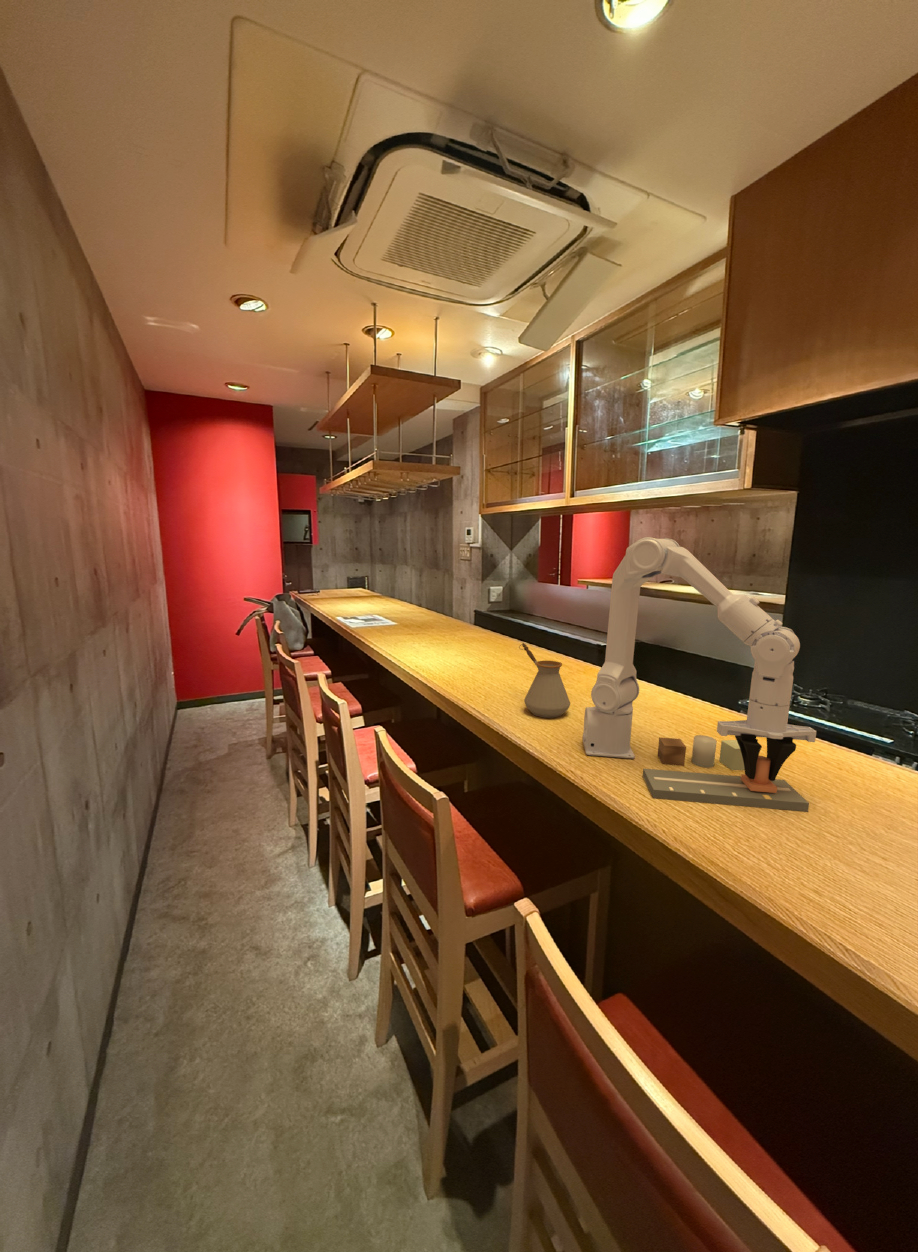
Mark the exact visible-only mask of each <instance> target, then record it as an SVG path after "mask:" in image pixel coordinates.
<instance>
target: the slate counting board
mask: <svg viewBox="0 0 918 1252" xmlns="http://www.w3.org/2000/svg"><path fill="white" fill-rule="evenodd" d="M642 778H643V780H644V782H645V784H646V786H647V788H648V791H649V792H650V795H651V797H652V798H653V799H661V800H671V801H672V800H673V801H685V802H697V803H704V804H707V803H708V804H718V805H727V806H728V805H729V806H738V807H751V808H752V807H753V808H761V809H772V810H774V809H775V810H785V811H787V810H788V811H796V812H807V813H808V812H809V807H810V806H809V805H810V802H809V801H807V800H806V799H805V797H804V796H803V795H801V794H800V793H799V792H798V791H797V790H796V789H795V787H793V786H792V785H791V784H789V782H787V781H786V780H785V779H779V778H778V779H777V778H775V781H771V782H772V783H773V784H774V785H775V786H776V787H777V793H770V792H759V791H750V789H749V788H748V787H747V786H746V785H745V784H744V783H743V782H742V780H741V775H728V774H718V773H716V774H715V773H706V772H705V773H703V772H694V771H693V772H692V771H680V770H668V769H666V770H665V769H655V768H644V767H643V770H642Z"/></svg>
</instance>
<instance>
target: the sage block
mask: <svg viewBox="0 0 918 1252" xmlns="http://www.w3.org/2000/svg"><path fill="white" fill-rule="evenodd" d="M719 761H720V762H719ZM719 761H718V762H719V763H721V762H722V763H723V764H724V765H723V764H722V763H721V764H722V765H723V766H725V765H726V766H727V767H726V766H725V767H726V768H727V769H729V768H730V769H729V770H731V769H732V770H731V771H732V772H733V770H740V771H745V769H744V762H743V757H742V753H741V750H740V747H739V745H738V742H737V740H736V739H727V740H726V739H725V740H724V739H723V740H721V743H720V750H719Z"/></svg>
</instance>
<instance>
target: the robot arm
mask: <svg viewBox="0 0 918 1252" xmlns="http://www.w3.org/2000/svg"><path fill="white" fill-rule="evenodd" d="M660 574H661V575H668V576H672V577H678V578H681V579H682V580H684V581H685V582H686V583H687V584H689V585H690V586H691V587H692V588H693V589H694V590H696V591H697V592H698V593H699V594H701V595H702V596H703V597H704V598H705V599H707V600H708V601H709V602H710V603H711V604H712V605H713V606H715V607H716V610H717V611H716V612H717V619H718V620H719V621H720V622H721V623H722V624H723V625H724V626H725V627H726V628H727V629H728V630H730V631H731V633H733V634H734V635H735V636H736V637H737V638H738V639H739V640H741V642H742V643H744V645H747V646H749V647H750V653H751V655H752V658H753V659H754V665H753V671H752V673H751V682H750V690H749V699H748V706H747V708H748V709H747V713H746V714H747V715H746V719H745V720H744V719H743V720H740V719H739V720H729V721H728V720H727V721H726V720H725V721H724V720H722V721H721V720H718V721H717V724H716V725H717V726H716V732H717V733H718V735H720V736H721V737H727V736H734V737H735V740H737V742H738V745H739V747H740V750H741V753H742V757H743V762H744V769H745V770H744V775H746V776H747V777H748V778H749V779H754V778H755V774H756V764H757V759H758V756H760V753H761V750H762V747H763V746H762V745H761V744H760V743H759V742H758V741H759V739H757V738H765V739H766V757H767V758H769V759H770V760H771V763H770V770H769V778H768V779H769V780H770V781H775V779H777V776H778V774H779V772H780V769H781V768H782V767H783V765H784V764H785V762H786V760H787V759H788V758H789V757H790V756H791V755H793V753H794V752H795V751H796V748H797V744H796V743H795V742H794V740H798V741H807V742H808V743H815V742H816V737H817V730H815V729H814V728H812V727H810V726H802V725H796V724H795V725H794V724H789V723H788V719H789V713H790V705H791V699H792V692H793V685H794V684H793V683H794V674H793V673H794V670H795V660H794V659H795V658H796V656H797V655H798V654H799V651H800V648H801V643H800V639H799V637H798V636H797V635H796V634H795V632H794V631H793V629H791V628H788V627H786V626H783V622H782V621H781V620H780V619H776V620H775V619H773V617H772V616H770V615H769V614H768V613H767V612H766V611H765V610H764V609H762V608H761V607H760V606H759V604H760V601H759V600H758V599H757V598H756V597H754V596H753V597H751V598H750V597H749V596H747V594H734V593H732V592H731V590H729V589H728V588H727V587H726V586H725V584H723V583H722V582H721V581H720V580H719V579H718V578H717V577H716V576H715V575H714V574H713V573H712V572H711V571H710V570H709V569H708V568H706V566H705V565H704V564H702V563H701V561H699V560H698V558H697V557H695V556H694V555H693V553H692V552H690V551H689V550H688V549H687V548H685V547H683V546H681V545H679V543H678V542H677V541H676V540H674V539H672V538H667V537H664V538H654V537H649V536H647V537H642V538H641V539H638V540H637V541H636V542H634V543H632V544H631V545H630V546H628V547H627V548H626V551H625V555H624V556H623V559H621V561H620V563H619V565H618V566H617V568H616V569H615V571H614V572H613V575H612V580H611V593H610V600H609V601H610V602H609V612H608V613H609V615H608V622H607V623H608V624H607V625H608V626H607V633H606V635H607V636H606V648H605V656H604V657H605V658H604V663H603V664H602V667H601V668H600V669H599V670H598V672H597V675H596V682H595V684H594V685H593V686H592V688H591V695H590V697H591V701H592V703H593V705H594V706H587V707H585V710H584V715H583V716H584V718H583V720H584V721H583V733H582V743H583V747H584V751H585V754H586V755H588V756H595V757H596V756H597V757H606V758H607V757H609V758H620V759H621V758H623V759H635V757H636V755H635V754H634V752H633V749H632V748H631V747H632V746H631V737H632V727H633V726H632V725H633V715H634V713H633V710H634V707H633V702H634V701H636V699H638V697H639V695H640V685H639V683H638V679H637V669H636V666H634V655H635V653H634V652H635V645H636V635H637V633H636V632H637V623H638V615H639V614H638V613H639V604H640V596H641V595H640V593H641V587H642V586H643V585H644V584H646V583H647V582H648V581H650V580H651V579H652V578H654V577H655V576H659V575H660Z"/></svg>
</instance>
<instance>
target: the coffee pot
mask: <svg viewBox="0 0 918 1252" xmlns="http://www.w3.org/2000/svg"><path fill="white" fill-rule="evenodd" d="M521 646H522V648H520V647H521ZM518 648H519V650H523V651H526V654H527V656H528V657H529V658H530V660H531V661H532V662H533V663H534V665H535V666H536V668H537V671H536V675H535V677H534V678H533V681H532V683H531V685H530V687H529V689H528V692H527V693H526V695H525V697H524V699H523V700H524V705H525V707H526V708H527V709H528V711H530V712H531V713H532V715H534V716H537V717H539V718H540V717H541V718H548V719H550V718H551V719H554V718H560V717H561V716H563V714H564V713H566V712H567V711H568V710H569V709H570V707H571V701H570V699H569V696H568V693H567V691H566V688H565V685H564V682H563V679H562V677H561V675H560V669H561V667H562V666H563V663H562V662H560V661H555V660H537V659H536V657H535V656H534V654H533V653H532V651H531V650H530V649H529V647H528V645H527V644H526V643H524V642H522V643H521V644H520V645H519V646H518Z"/></svg>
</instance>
